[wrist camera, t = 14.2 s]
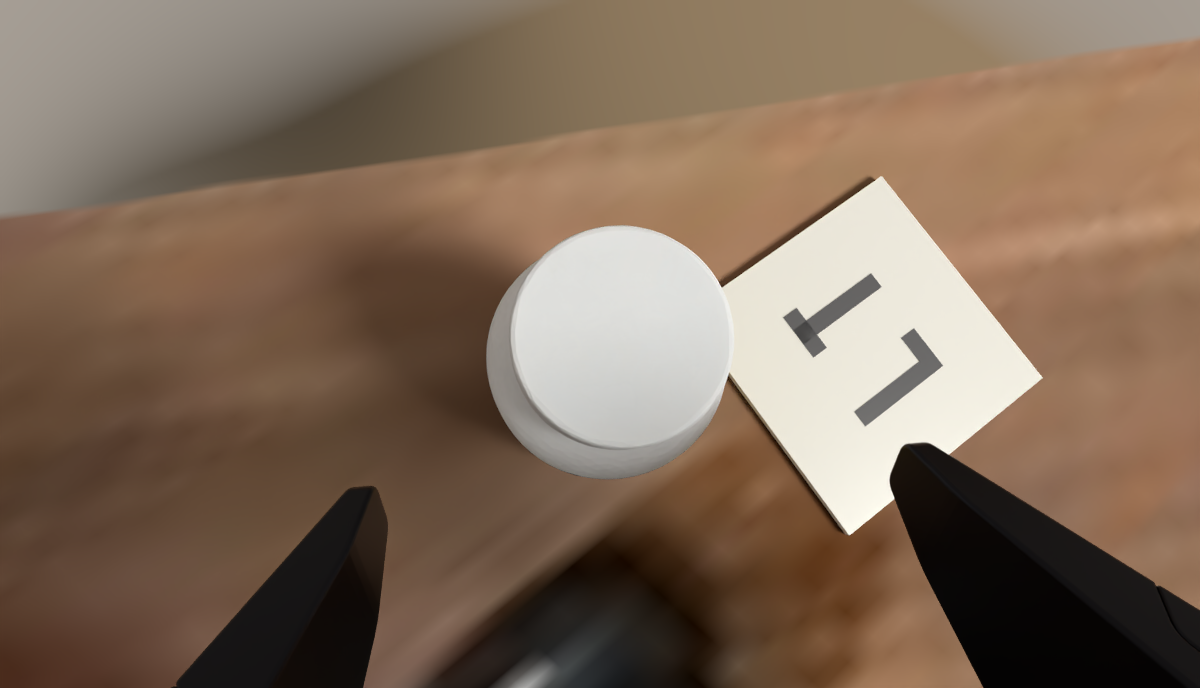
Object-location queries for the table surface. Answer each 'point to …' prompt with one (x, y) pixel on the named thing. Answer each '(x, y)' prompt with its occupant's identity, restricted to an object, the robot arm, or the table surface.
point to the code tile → (867, 350)
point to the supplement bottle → (611, 352)
